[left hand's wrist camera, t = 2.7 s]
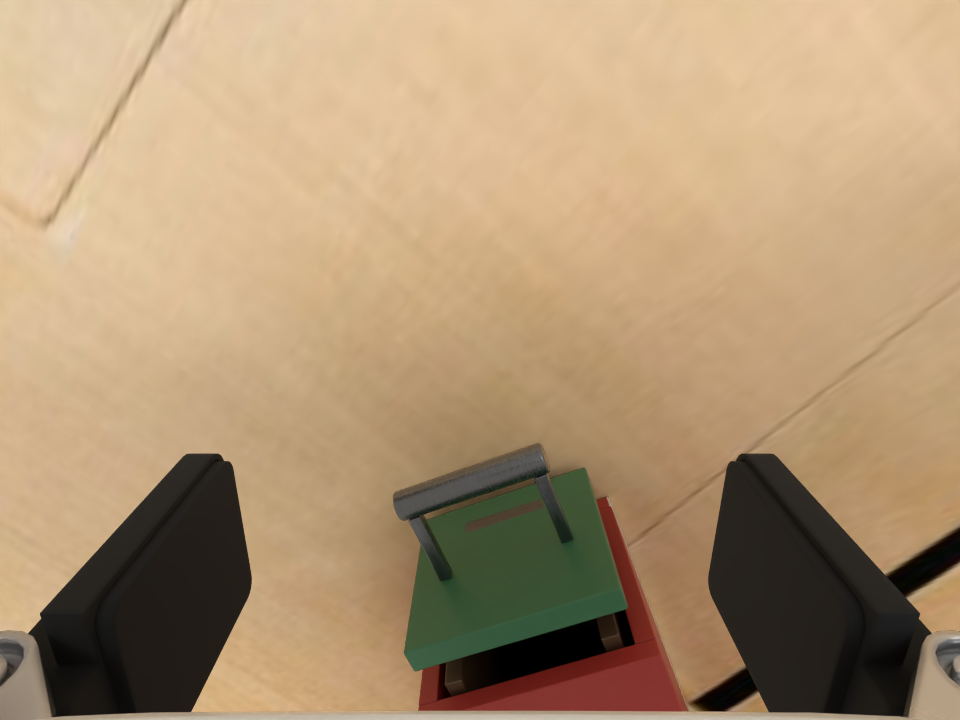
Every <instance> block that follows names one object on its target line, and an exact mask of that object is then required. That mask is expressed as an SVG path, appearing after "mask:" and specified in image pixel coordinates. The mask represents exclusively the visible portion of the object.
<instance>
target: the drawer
mask: <svg viewBox="0 0 960 720" xmlns="http://www.w3.org/2000/svg"><path fill="white" fill-rule="evenodd" d="M549 472H550V467H549V463H548V460H547V457H546V454H545V452H544V449H543V447H542V445H541V444H540V443H537V444H534V445H531V446H528V447H525V448H522V449H519V450H516V451H513V452H510V453H508V454H505V455H502V456H499V457H496V458H493V459H490V460H487V461H484V462H481V463H478V464H475V465H473V466H470V467H467V468H464V469H461V470H458V471H455V472H452V473H449V474H446V475H443V476H440V477H438V478H435V479H432V480H429V481H426V482H423V483H420V484H417V485H414V486H411V487H408V488H405V489H402V490H400V491H397V492H395V493H394V495H393V503H394V508H395V511H396V513H397V515H398V517H399V518H400V519H401V520H403V521H405V520H408V519H409V522H410V524H411V526H412V528H413V530H414V532H415V534H416V536H417V538H418V539H419V541H420V543H421V547H420V553H419V560H418V566H417V572H416V579H415V585H414V591H413V598H412V604H411V611H410V617H409V623H408V630H407V636H406V642H405V649H404V654H405V656H406V658H407V659H408V661H409V663H410V665H411V666H412V668H413V670H414V671H419V670H422V669H425V668H429V667H432V666H436V665H439V664H442V663H446V662H447V663H446V677H445V686H446V688H447V690H448V691H449V693H450V695H451V697H453V696H456V695H460V694H463V693H467V692H470V691H474V690H477V689H481V688H484V687H488V686H491V685H495V684H498V683H502V682H505V681H509V680H512V679H516V678H519V677H523V676H526V675H530V674H533V673H537V672H540V671H544V670H547V669H551V668H554V667H558V666H561V665H565V664H568V663H572V662H575V661H579V660H582V659H586V658H589V657H593V656H596V655H600V654H603V653H607V652H610V651H614V650H617V649H621V648H624V647H628V646H631V645H635V643H634V639H633V636H632V632H631V629H630V626H629V622H628V619H627V615H626V612H625V610H626V609H628V604H627V601H626V598H625V594H624V591H623V588H622V584H621V581H620V578H619V574H618V571H617V568H616V564H615V561H614V558H613V554H612V551H611V548H610V544H609V541H608V538H607V534H606V531H605V528H604V524H603V521H602V518H601V514H600V511H599V508H598V504H597V501H596V498H595V494H594V491H593V488H592V484H591V482H590V479H589V476H588V474H587V471H586V469H585V468H581V469H578V470H575V471H572V472H569V473H566V474H563V475H560V476H557V477H554V478H551V479H550V477H549V475H548V473H549ZM531 478H534V479H535V481H536V484H533V485H530V486H527V487H524V488H521V489H518V490H515V491H512V492H509V493H506V494H503V495H500V496H497V497H494V498H491V499H488V500H485V501H482V502H479V503H476V504H473V505H470V506H467V507H464V508H461V509H458V510H455V511H452V512H449V513H446V514H443V515H440V516H437V517H434V518H431V519H428V520H426V519H425V517H424V515H423V514H426V513H429V512H432V511H435V510H438V509H441V508H444V507H447V506H450V505H453V504H456V503H459V502H462V501H465V500H468V499H471V498H474V497H477V496H480V495H483V494H486V493H489V492H492V491H495V490H498V489H501V488H504V487H507V486H510V485H513V484H516V483H519V482H522V481H525V480H528V479H531Z"/></svg>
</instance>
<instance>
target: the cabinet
mask: <svg viewBox="0 0 960 720" xmlns="http://www.w3.org/2000/svg"><path fill="white" fill-rule="evenodd" d="M596 501H597V504H598V508H599V511H600V514H601V518H602V521H603V524H604V528H605V531H606V534H607V538H608V541H609V544H610V548H611V551H612V554H613V558H614V561H615V564H616V568H617V571H618V574H619V578H620V581H621V584H622V588H623V591H624V594H625V598H626V601H627V604H628V609H626V610H625V612H626V615H627V619H628V622H629V626H630V629H631V632H632V636H633V639H634V643H635V645H631V646H628V647H624V648H621V649H617V650H614V651H610V652H607V653H603V654H600V655H596V656H593V657H589V658H586V659H582V660H579V661H575V662H572V663H568V664H565V665H561V666H558V667H554V668H551V669H547V670H544V671H540V672H537V673H533V674H530V675H526V676H523V677H519V678H516V679H512V680H509V681H505V682H502V683H498V684H495V685H491V686H488V687H484V688H481V689H477V690H474V691H470V692H467V693H463V694H460V695H456V696H453V697H451V695H450V693H449V691H448V690H447V688H446V686H445V677H446V663H447V662H446V663H442V664H439V665H436V666H432V667H429V668H425V669H423V673H422V682H421V690H420V699H419V710H418V711H672V712H689V709H688V707H687V704H686V701H685V699H684V696H683V693H682V691H681V688H680V685H679V683H678V680H677V677H676V675H675V672H674V669H673V667H672V664H671V661H670V659H669V656H668V653H667V651H666V648H665V646H664V643H663V640H662V638H661V635H660V632H659V630H658V627H657V624H656V622H655V619H654V616H653V614H652V611H651V608H650V606H649V603H648V600H647V598H646V595H645V592H644V590H643V587H642V584H641V582H640V579H639V577H638V574H637V571H636V569H635V566H634V563H633V561H632V558H631V555H630V553H629V550H628V547H627V545H626V542H625V539H624V537H623V534H622V531H621V529H620V526H619V523H618V521H617V518H616V515H615V513H614V510H613V508H612V505H611V502H610V500H609V497H608V496H607V497H606V498H603V499H599V500H596Z"/></svg>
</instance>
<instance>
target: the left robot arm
mask: <svg viewBox="0 0 960 720" xmlns="http://www.w3.org/2000/svg"><path fill="white" fill-rule="evenodd" d="M251 583H252V577H251V570H250V564H249V558H248V552H247V546H246V541H245V535H244V529H243V523H242V517H241V511H240V506H239V500H238V494H237V488H236V482H235V476H234V470H233V466H232V464H231V463H230V462H229V461H224V460H223V458H222V456H221V455H219V454H186V455H185V456H183V457H182V459H181V460H180V461H179V462H178V463H177V464H176V465H175V466H174V467H173V468H172V470H171V471H170V472H169V473H168V474H167V475H166V476H165V477H164V478H163V479H162V480H161V482H160V483H159V484H158V485H157V486H156V487H155V488H154V489H153V490H152V491H151V493H150V494H149V495H148V496H147V497H146V498H145V499H144V500H143V501H142V502H141V503H140V505H139V506H138V507H137V508H136V509H135V510H134V511H133V512H132V513H131V514H130V515H129V517H128V518H127V519H126V520H125V521H124V522H123V523H122V524H121V525H120V526H119V528H118V529H117V530H116V531H115V532H114V533H113V534H112V535H111V536H110V537H109V538H108V540H107V541H106V542H105V543H104V544H103V545H102V546H101V547H100V548H99V549H98V551H97V552H96V553H95V554H94V555H93V556H92V557H91V558H90V559H89V560H88V561H87V563H86V564H85V565H84V566H83V567H82V568H81V569H80V570H79V571H78V572H77V574H76V575H75V576H74V577H73V578H72V579H71V580H70V581H69V582H68V583H67V584H66V586H65V587H64V588H63V589H62V590H61V591H60V592H59V593H58V594H57V595H56V597H55V598H54V599H53V600H52V601H51V602H50V603H49V604H48V605H47V606H46V607H45V609H44V610H43V611H42V612H41V613H40V616H41V620H40V621H39V622H38V623H37V624H36V625H35V626H34V628H33V629H32V630H31V631H30V632H29V633H28V634H27V633H25V632H23V631H11V630H7V631H0V720H960V631H953V630H949V631H937V632H935V633H933V634H932V633H931V632H930V631H929V630H928V629H927V628H926V626H925V625H924V624H923V623H922V622H921V621H920V620H919V616H920V613H919V612H918V611H917V610H916V609H915V607H914V606H913V605H912V604H911V603H910V602H909V601H908V600H907V599H906V598H905V597H904V595H903V594H902V593H901V592H900V591H899V590H898V589H897V588H896V587H895V586H894V584H893V583H892V582H891V581H890V580H889V579H888V578H887V577H886V576H885V575H884V574H883V572H882V571H881V570H880V569H879V568H878V567H877V566H876V565H875V564H874V563H873V561H872V560H871V559H870V558H869V557H868V556H867V555H866V554H865V553H864V552H863V551H862V549H861V548H860V547H859V546H858V545H857V544H856V543H855V542H854V541H853V540H852V538H851V537H850V536H849V535H848V534H847V533H846V532H845V531H844V530H843V529H842V528H841V526H840V525H839V524H838V523H837V522H836V521H835V520H834V519H833V518H832V517H831V516H830V514H829V513H828V512H827V511H826V510H825V509H824V508H823V507H822V506H821V505H820V503H819V502H818V501H817V500H816V499H815V498H814V497H813V496H812V495H811V494H810V493H809V491H808V490H807V489H806V488H805V487H804V486H803V485H802V484H801V483H800V482H799V480H798V479H797V478H796V477H795V476H794V475H793V474H792V473H791V472H790V471H789V470H788V468H787V467H786V466H785V465H784V464H783V463H782V462H781V461H780V460H779V459H778V457H777V456H775V455H774V454H741V455H739V456H738V458H737V460H736V461H731V462H730V463H729V464H728V466H727V470H726V476H725V482H724V488H723V494H722V500H721V506H720V511H719V517H718V523H717V529H716V535H715V541H714V546H713V552H712V558H711V564H710V570H709V577H708V583H709V590H710V594H711V596H712V599H713V601H714V603H715V605H716V607H717V609H718V611H719V613H720V615H721V617H722V619H723V621H724V623H725V625H726V627H727V629H728V631H729V633H730V635H731V637H732V639H733V641H734V643H735V645H736V647H737V649H738V651H739V653H740V655H741V657H742V659H743V661H744V663H745V665H746V667H747V669H748V671H749V673H750V675H751V677H752V679H753V681H754V683H755V685H756V687H757V689H758V691H759V693H760V695H761V697H762V699H763V701H764V703H765V705H766V707H767V709H768V711H769V712H672V711H288V712H191V711H192V709H193V707H194V705H195V703H196V701H197V699H198V697H199V695H200V693H201V691H202V689H203V687H204V685H205V683H206V681H207V679H208V677H209V675H210V673H211V671H212V669H213V667H214V665H215V663H216V661H217V659H218V657H219V655H220V653H221V651H222V649H223V647H224V645H225V643H226V641H227V639H228V637H229V635H230V633H231V631H232V629H233V627H234V625H235V623H236V621H237V619H238V617H239V615H240V613H241V611H242V609H243V607H244V605H245V603H246V601H247V599H248V596H249V594H250V590H251Z"/></svg>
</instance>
